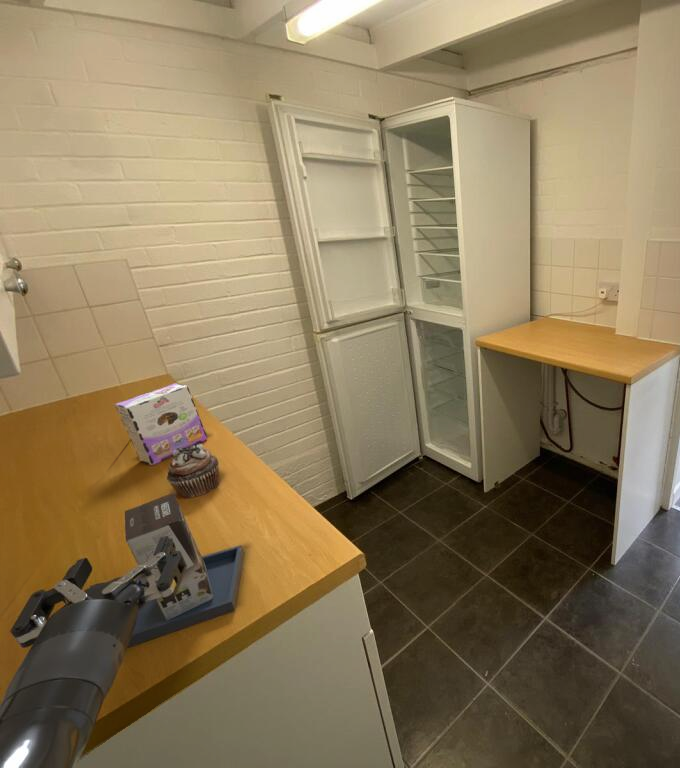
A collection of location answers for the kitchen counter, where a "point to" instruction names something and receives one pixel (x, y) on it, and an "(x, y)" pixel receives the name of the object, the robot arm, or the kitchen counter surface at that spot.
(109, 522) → the kitchen counter surface
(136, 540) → the coffee box
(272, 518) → the kitchen counter surface
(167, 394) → the candy box
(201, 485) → the cupcake
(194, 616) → the tray
